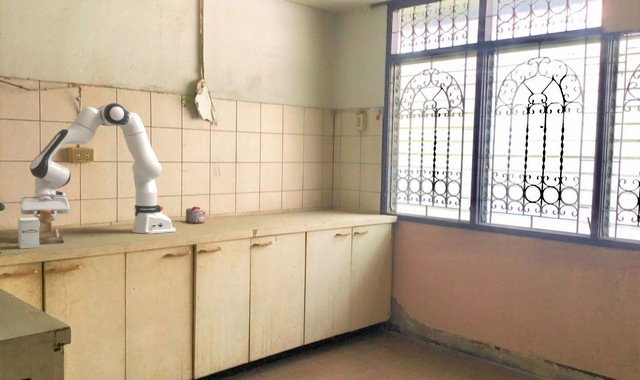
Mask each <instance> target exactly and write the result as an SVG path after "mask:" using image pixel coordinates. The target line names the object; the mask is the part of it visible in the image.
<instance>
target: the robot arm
mask: <svg viewBox="0 0 640 380" xmlns="http://www.w3.org/2000/svg"><path fill="white" fill-rule="evenodd" d="M101 125H102V126H105V127H107V126H108V127H109V126H110V127H112V126H113V127H114V126H118V127H120V129H121V131H122V134H123V136H124V137H123V138H124V140H125V143H126V146H127V149H128V151H129V154H130V155H131V157H132V158H133V160H134V162H133V164H132V168H131V169H132V172H133V173H132V174H133V180H134V187H135V204H134V216H135V217H134V224H133V227H132V228H133V229H132V233H136V234H137V233H139V234H148V235H150V234H152V235H153V234H162V233H163V234H164V233H175V232H177V228H176V227H173V222H172V219H171V218H170V217H169V216H167V215H166V214H164V213H163V212H162V211H163V210H164V206H162V205H159V204H158V188H157V185H156V184H157V183H156V179H157V178H158V177H160V176H161V174H162V172H163V168H162V165H161V164H160V162H159V160H158V157H157V156H156V154H155V151H154V150H153V148H152V145H151V142H150V140H149V137H148V135H147V131H146V128H145V126H144V124H143V122H142V120H141V118H140V116H139V114H138V113H136V112H131V111H130V112H129V111H128V110H127V109H126V108H125V107H124V106H123V105H121V104H120V103H116V102H111V103H107V104H105V105H102V106H100V107H99V108H95V107H92V106H84V107H83V108H82V109H81V110H80V111H79V113H78V114H77V116H76V117H75V118H74V120H73V121H72V123H71V124H70V125H69V127H67V128H65V129H64V128H63V129H61V130H60V131H58V133H56V134H55V136H54V137H53V138H52V139H51V140H50V141H49V143H48V144H47V145H46V146H45V147H44V148H43V150H42V151H41V152H40V153H39V154H38V155H37V156H36V157H35V158H34V159H33V160H32V161H31V163H30V165H29V169H30V173H31V175H32V176H33V177H34V188H35V189H34V196H24V197H21V198H20V200H19V203H20V214H22V216H23V215H26V216H27V215H33V217H34V218H38V219H39V222H40V210H44V209H51V222H52V221H55V219H56V217H57V216H58V215H59V214H60V215H61V214H62V215H65V214H68V213H69V212H70V204H69V200H68V198H67V196H66V192H63V191H59V190H58V189H61V188H63V187H66V185H68V184H69V183H70V180H71V177H72V176H71V175H72V174H71V171H70V169H69V168H67V167H65V166H63V165H61V164H60V163H57V162H56V161H53V160H52V158H53V157H54V156H55V155H56V154H57V152H58V151H59V150H60V149H61V148H62V147H63V146H64V145H78V146H80V145H86V144H88V143H90V142H91V141H92V140H93V137H94V136H95V134H96V131H97V130H98V128H99V127H101Z"/></svg>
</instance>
